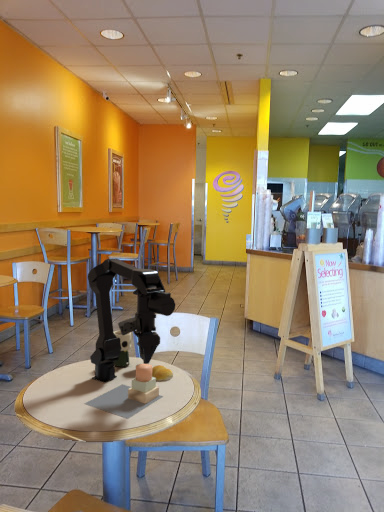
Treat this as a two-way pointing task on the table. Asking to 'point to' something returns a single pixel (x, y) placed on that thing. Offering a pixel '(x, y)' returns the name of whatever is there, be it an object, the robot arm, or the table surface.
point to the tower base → (143, 395)
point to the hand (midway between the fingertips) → (144, 358)
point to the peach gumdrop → (144, 372)
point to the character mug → (123, 348)
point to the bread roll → (161, 373)
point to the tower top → (143, 385)
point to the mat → (119, 402)
